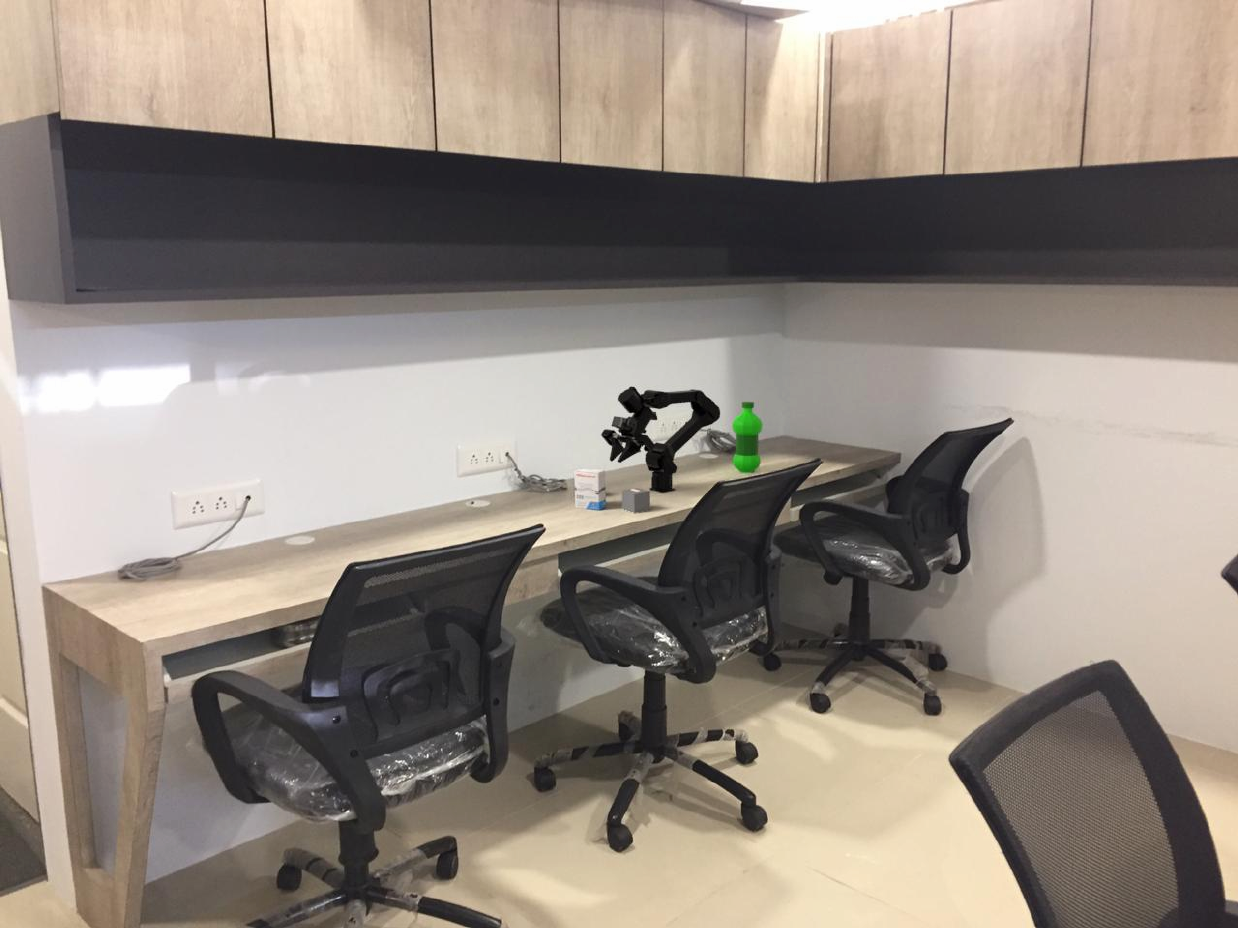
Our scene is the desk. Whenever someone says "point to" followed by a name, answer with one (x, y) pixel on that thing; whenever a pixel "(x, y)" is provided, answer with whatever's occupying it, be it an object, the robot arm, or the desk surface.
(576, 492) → the ink box
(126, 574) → the desk surface
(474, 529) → the desk surface
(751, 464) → the plastic bottle
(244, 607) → the desk surface
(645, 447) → the robot arm
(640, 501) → the marked block 2
